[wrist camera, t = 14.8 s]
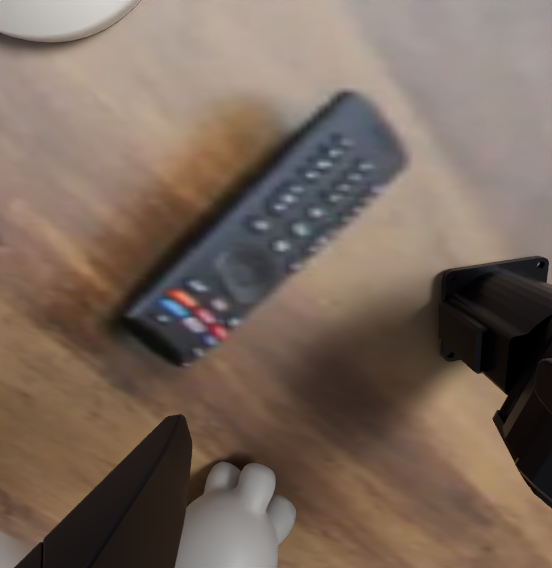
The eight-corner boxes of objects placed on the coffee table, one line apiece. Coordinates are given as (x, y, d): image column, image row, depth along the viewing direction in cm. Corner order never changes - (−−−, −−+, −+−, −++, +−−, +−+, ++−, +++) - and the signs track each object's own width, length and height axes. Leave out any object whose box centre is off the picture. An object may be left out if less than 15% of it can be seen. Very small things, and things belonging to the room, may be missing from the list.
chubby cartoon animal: (150, 448, 28) (63, 562, 21) (277, 449, 23) (220, 600, 16) (187, 507, 30) (120, 629, 23) (310, 520, 25) (273, 681, 18)
